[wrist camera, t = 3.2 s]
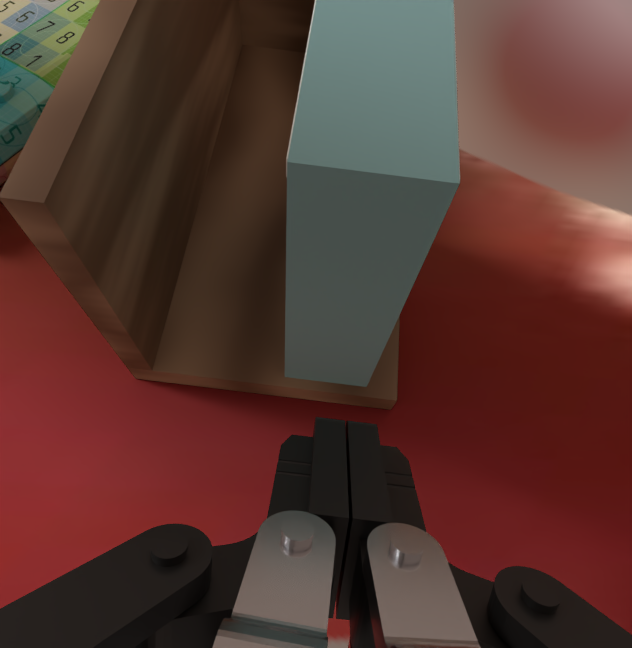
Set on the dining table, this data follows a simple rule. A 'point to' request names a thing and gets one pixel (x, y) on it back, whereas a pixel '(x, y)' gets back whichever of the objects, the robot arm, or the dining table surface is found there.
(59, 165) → the open wooden box
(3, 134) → the puzzle game
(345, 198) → the rectangular block
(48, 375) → the dining table surface
